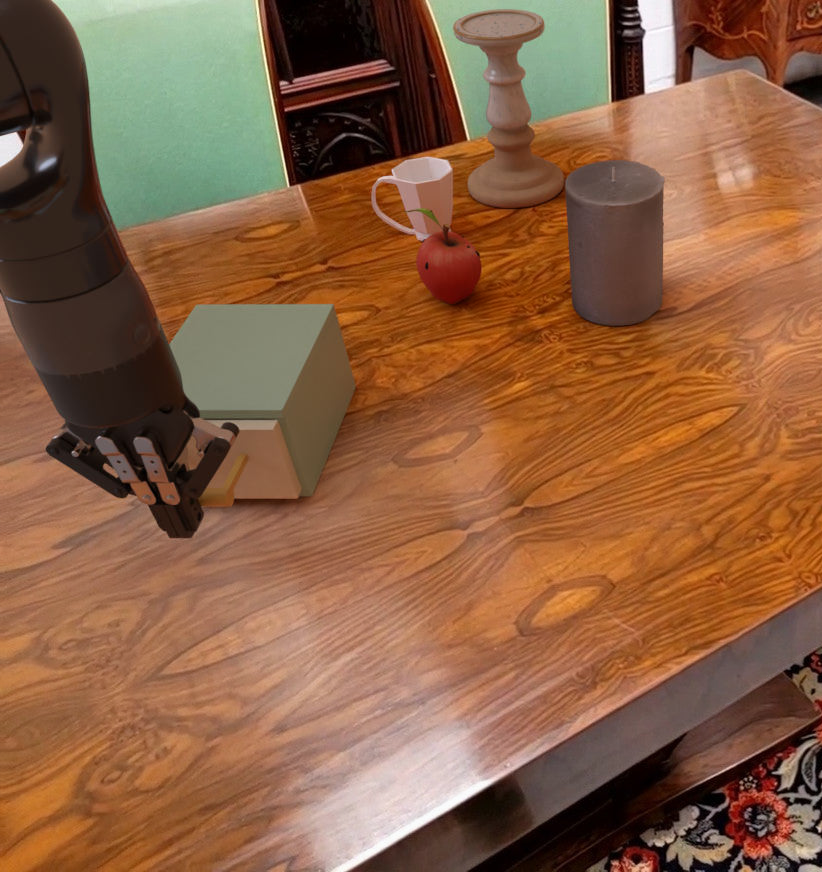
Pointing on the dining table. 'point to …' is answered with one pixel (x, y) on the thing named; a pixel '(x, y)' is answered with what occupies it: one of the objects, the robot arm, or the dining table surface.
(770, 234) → the dining table surface
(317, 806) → the dining table surface
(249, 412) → the cabinet
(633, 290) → the pillar candle
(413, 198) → the cup
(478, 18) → the candle holder
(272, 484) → the drawer
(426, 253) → the apple
